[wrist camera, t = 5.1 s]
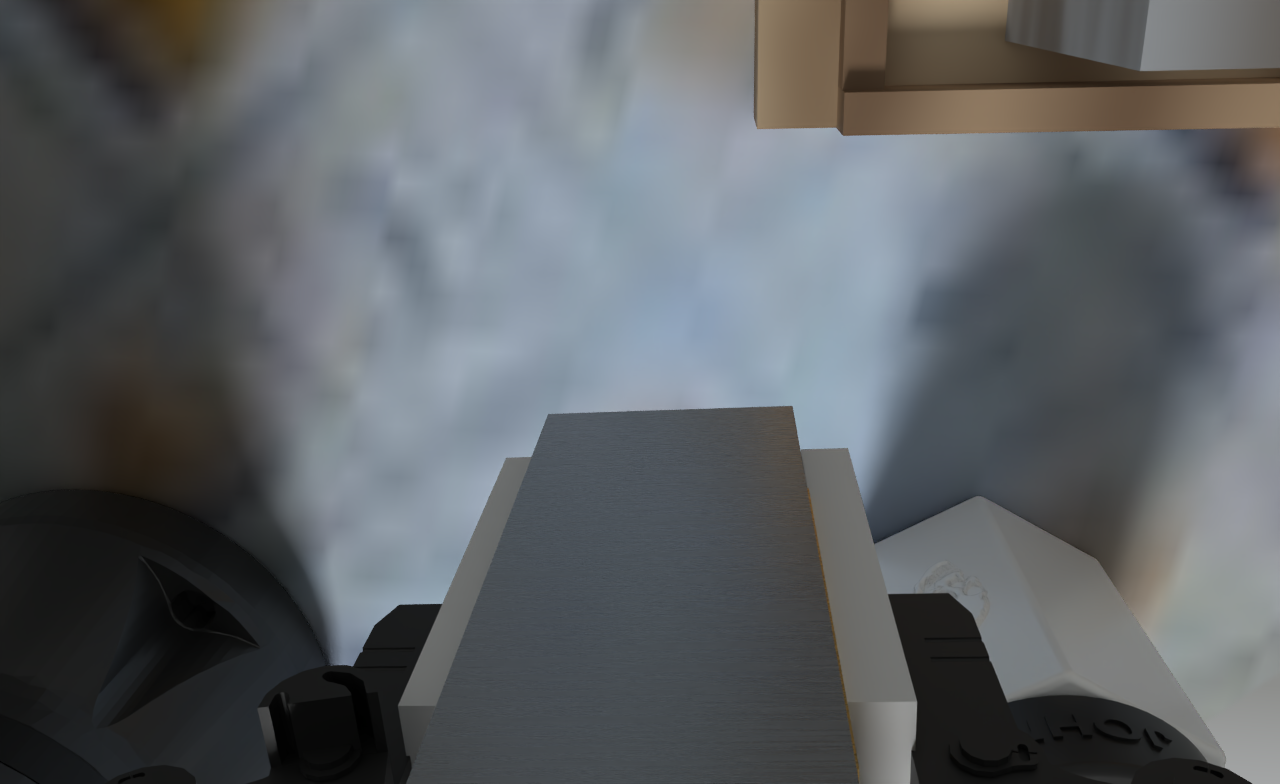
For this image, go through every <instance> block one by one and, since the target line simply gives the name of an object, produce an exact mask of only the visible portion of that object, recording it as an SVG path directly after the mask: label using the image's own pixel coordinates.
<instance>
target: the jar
mask: <svg viewBox="0 0 1280 784" xmlns="http://www.w3.org/2000/svg"><path fill="white" fill-rule="evenodd" d="M874 546H875V549H876V553H877V557H878V560H879V564H880V568H881V571H882V575H883V579H884V582H885V586H886V590H887V593H888V594H917V593H949V594H950V595H951V596H953V597H954V598H955V599H956V600H957V601H958V602H960V603H961V604H962V605H963V606H964V607H965V608H966V609H968V610H969V611H970V612H971V613H972V614H973V617H974V619H975V622H976V624H977V627H978V629H979V632H980V634H981V637H982V642H984V644H985V647H986V650H987V652H988V655H989V660H990V661H991V662H992V665H993V667H994V670H995V672H996V675H997V677H998V680H999V682H1000V685H1001V687H1002V690H1003V692H1004V695H1005V697H1006V700H1007V702H1008V705H1009V707H1010V710H1011V712H1012V715H1013V717H1014V720H1015V722H1016V725H1017V727H1018V729H1019V730H1021V731H1023V732H1025V733H1027V734H1029V735H1030V736H1031V737H1032V738H1033V739H1034V740H1035V741H1036V742H1037V743H1038V744H1039V745H1040V746H1041V747H1042V748H1043V749H1044V752H1045V754H1046V757H1047V759H1048V761H1049V763H1051V764H1052V765H1054V766H1056V767H1059V768H1061V769H1063V770H1065V771H1067V772H1070V773H1072V774H1075V775H1079V776H1082V777H1086V778H1089V779H1093V780H1097V781H1102V782H1107V783H1111V784H1131V782H1132V780H1133V777H1134V775H1135V772H1136V771H1137V770H1139V769H1140V768H1142V767H1143V766H1145V765H1146V764H1148V763H1150V762H1151V761H1157V760H1163V759H1168V758H1183V759H1193V760H1201V761H1204V762H1207V763H1210V764H1213V765H1216V766H1220V767H1223V768H1224V767H1225V762H1226V757H1225V754H1224V752H1223V750H1222V749H1221V747H1220V746H1219V744H1218V743H1217V741H1216V740H1215V738H1214V737H1213V735H1212V733H1211V732H1210V730H1209V729H1208V727H1207V726H1206V724H1205V723H1204V721H1203V720H1202V718H1201V717H1200V715H1199V714H1198V712H1197V711H1196V709H1195V708H1194V706H1193V704H1192V703H1191V701H1190V700H1189V698H1188V697H1187V695H1186V694H1185V692H1184V691H1183V689H1182V688H1181V686H1180V685H1179V683H1178V682H1177V680H1176V679H1175V677H1174V676H1173V674H1172V673H1171V671H1170V669H1169V668H1168V666H1167V665H1166V663H1165V662H1164V660H1163V659H1162V657H1161V656H1160V654H1159V653H1158V651H1157V650H1156V648H1155V647H1154V645H1153V644H1152V642H1151V641H1150V639H1149V637H1148V636H1147V634H1146V633H1145V631H1144V630H1143V628H1142V627H1141V625H1140V624H1139V622H1138V621H1137V619H1136V618H1135V616H1134V615H1133V613H1132V612H1131V610H1130V609H1129V607H1128V606H1127V604H1126V602H1125V601H1124V599H1123V598H1122V596H1121V595H1120V593H1119V592H1118V590H1117V589H1116V587H1115V586H1114V584H1113V583H1112V581H1111V580H1110V578H1109V577H1108V575H1107V574H1106V572H1105V570H1104V569H1103V567H1102V566H1101V564H1100V563H1099V561H1098V560H1096V559H1095V558H1093V557H1092V556H1090V555H1088V554H1086V553H1084V552H1083V551H1081V550H1079V549H1077V548H1075V547H1073V546H1072V545H1070V544H1068V543H1066V542H1064V541H1063V540H1061V539H1059V538H1057V537H1055V536H1054V535H1052V534H1050V533H1048V532H1046V531H1044V530H1043V529H1041V528H1039V527H1037V526H1035V525H1034V524H1032V523H1030V522H1028V521H1026V520H1024V519H1023V518H1021V517H1019V516H1017V515H1015V514H1014V513H1012V512H1010V511H1008V510H1006V509H1005V508H1003V507H1001V506H999V505H997V504H995V503H994V502H992V501H990V500H988V499H986V498H985V497H982V496H975V497H973V498H971V499H968V500H966V501H964V502H962V503H960V504H958V505H956V506H954V507H952V508H950V509H947V510H945V511H943V512H941V513H939V514H937V515H935V516H933V517H930V518H928V519H926V520H924V521H922V522H920V523H918V524H916V525H914V526H911V527H909V528H907V529H905V530H903V531H901V532H899V533H897V534H894V535H892V536H890V537H888V538H886V539H884V540H882V541H880V542H877V543H875V544H874Z"/></svg>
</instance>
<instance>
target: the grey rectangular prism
mask: <svg viewBox="0 0 1280 784" xmlns="http://www.w3.org/2000/svg"><path fill="white" fill-rule="evenodd" d="M406 784H859V764H858V759H857V753H856V748H855V742H854V737H853V731H852V726H851V720H850V715H849V709H848V703H847V698H846V692H845V687H844V681H843V676H842V670H841V665H840V659H839V654H838V648H837V643H836V637H835V631H834V626H833V620H832V615H831V609H830V604H829V598H828V593H827V587H826V582H825V576H824V570H823V565H822V559H821V554H820V548H819V543H818V537H817V532H816V526H815V521H814V515H813V510H812V504H811V498H810V493H809V488H807V486H806V480H805V474H804V469H803V463H802V458H801V452H800V446H799V441H798V435H797V429H796V424H795V418H794V412H793V407H792V406H778V407H747V408H717V409H687V410H657V411H627V412H597V413H567V414H548V416H547V419H546V421H545V424H544V426H543V429H542V432H541V434H540V437H539V439H538V442H537V445H536V447H535V450H534V452H533V455H532V458H531V460H530V463H529V465H528V468H527V471H526V473H525V476H524V478H523V481H522V484H521V486H520V489H519V491H518V494H517V497H516V499H515V502H514V504H513V507H512V510H511V512H510V515H509V517H508V520H507V523H506V525H505V528H504V530H503V533H502V536H501V538H500V541H499V543H498V546H497V549H496V551H495V554H494V556H493V559H492V562H491V564H490V567H489V569H488V572H487V575H486V577H485V580H484V582H483V585H482V588H481V590H480V593H479V595H478V598H477V601H476V603H475V606H474V608H473V611H472V614H471V616H470V619H469V621H468V624H467V627H466V629H465V632H464V634H463V637H462V640H461V642H460V645H459V647H458V650H457V653H456V655H455V658H454V660H453V663H452V666H451V668H450V671H449V673H448V676H447V679H446V681H445V684H444V686H443V689H442V692H441V694H440V697H439V699H438V702H437V705H436V707H435V710H434V712H433V715H432V718H431V720H430V723H429V725H428V728H427V731H426V733H425V736H424V738H423V741H422V744H421V746H420V749H419V751H418V754H417V757H416V759H415V762H414V764H413V767H412V770H411V772H410V775H409V777H408V780H407V783H406Z"/></svg>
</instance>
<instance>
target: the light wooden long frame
mask: <svg viewBox="0 0 1280 784" xmlns="http://www.w3.org/2000/svg"><path fill="white" fill-rule="evenodd" d="M754 119H755V123H756V126H757V129H782V128H834V127H836V128H837V129H838V130H839V131H840V133H841V134H842V135H843V136H850V135H903V134H957V133H1010V132H1064V131H1117V130H1171V129H1224V128H1277V127H1280V0H755V56H754Z"/></svg>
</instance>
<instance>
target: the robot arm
mask: <svg viewBox="0 0 1280 784" xmlns="http://www.w3.org/2000/svg"><path fill="white" fill-rule="evenodd" d="M531 458H532V457H520V458H506V460H505V462H504V465H503V467H502V469H501V471H500V474H499V476H498V478H497V481H496V483H495V485H494V487H493V490H492V492H491V494H490V497H489V499H488V501H487V503H486V506H485V508H484V510H483V513H482V515H481V517H480V519H479V522H478V524H477V526H476V529H475V531H474V533H473V535H472V538H471V540H470V542H469V545H468V547H467V549H466V551H465V554H464V556H463V558H462V561H461V563H460V565H459V567H458V570H457V572H456V574H455V577H454V579H453V581H452V583H451V586H450V588H449V590H448V593H447V595H446V597H445V599H444V602H443V604H413V605H399V606H397V607H396V608H395V609H394V610H393V611H391V612H390V613H389V614H388V615H386V616H385V617H384V618H383V619H382V620H380V621H379V622H378V623H377V624H376V625H375V626H374V628H373V630H372V631H371V633H370V635H369V637H368V639H367V641H366V643H365V645H364V647H363V652H361V653H360V654H359V656H358V658H357V660H356V662H355V664H354V666H353V667H352V666H348V665H333V666H326V665H325V661H324V658H323V655H322V653H321V650H320V647H319V645H318V643H317V640H316V638H315V636H314V634H313V632H312V630H311V628H310V626H309V625H308V623H307V621H306V619H305V617H304V616H303V614H302V613H301V611H300V610H299V608H298V607H297V605H296V604H295V603H294V601H293V600H292V599H291V597H290V596H289V595H288V593H287V592H286V591H285V590H284V588H283V587H282V586H281V585H280V584H279V583H278V582H277V580H276V579H275V578H274V577H273V576H272V575H271V574H270V573H269V572H268V571H267V570H266V569H265V568H264V567H263V566H262V565H261V564H259V563H258V562H257V561H256V560H255V559H254V558H253V557H252V556H250V555H249V554H248V553H247V552H245V551H244V550H243V549H241V548H240V547H239V546H238V545H236V544H235V543H233V542H232V541H230V540H229V539H228V538H226V537H225V536H223V535H222V534H220V533H218V532H217V531H215V530H213V529H212V528H210V527H208V526H207V525H205V524H203V523H201V522H199V521H197V520H195V519H193V518H191V517H189V516H187V515H185V514H182V513H180V512H178V511H176V510H173V509H170V508H168V507H165V506H162V505H160V504H157V503H153V502H150V501H147V500H144V499H140V498H136V497H131V496H127V495H122V494H116V493H111V492H103V491H93V490H56V491H46V492H39V493H33V494H28V495H24V496H20V497H16V498H13V499H10V500H7V501H4V502H1V503H0V784H406V783H407V780H408V777H409V775H410V772H411V770H412V767H413V764H414V762H415V759H416V757H417V754H418V751H419V749H420V746H421V744H422V741H423V738H424V736H425V733H426V731H427V728H428V725H429V723H430V720H431V718H432V715H433V712H434V710H435V707H436V705H437V702H438V699H439V697H440V694H441V692H442V689H443V686H444V684H445V681H446V679H447V676H448V673H449V671H450V668H451V666H452V663H453V660H454V658H455V655H456V653H457V650H458V647H459V645H460V642H461V640H462V637H463V634H464V632H465V629H466V627H467V624H468V621H469V619H470V616H471V614H472V611H473V608H474V606H475V603H476V601H477V598H478V595H479V593H480V590H481V588H482V585H483V582H484V580H485V577H486V575H487V572H488V569H489V567H490V564H491V562H492V559H493V556H494V554H495V551H496V549H497V546H498V543H499V541H500V538H501V536H502V533H503V530H504V528H505V525H506V523H507V520H508V517H509V515H510V512H511V510H512V507H513V504H514V502H515V499H516V497H517V494H518V491H519V489H520V486H521V484H522V481H523V478H524V476H525V473H526V471H527V468H528V465H529V463H530V460H531ZM801 458H802V463H803V469H804V474H805V480H806V486H807V488H809V493H810V498H811V504H812V510H813V515H814V521H815V526H816V532H817V537H818V543H819V548H820V554H821V559H822V565H823V570H824V576H825V582H826V587H827V593H828V598H829V604H830V609H831V615H832V620H833V626H834V631H835V637H836V643H837V648H838V654H839V659H840V665H841V670H842V676H843V681H844V687H845V692H846V698H847V703H848V709H849V715H850V720H851V726H852V731H853V737H854V742H855V748H856V753H857V759H858V764H859V784H1111V783H1107V782H1102V781H1097V780H1093V779H1089V778H1086V777H1082V776H1079V775H1075V774H1072V773H1070V772H1067V771H1065V770H1063V769H1061V768H1059V767H1056V766H1054V765H1052V764H1051V763H1049V761H1048V759H1047V757H1046V754H1045V752H1044V749H1043V748H1042V747H1041V746H1040V745H1039V744H1038V743H1037V742H1036V741H1035V740H1034V739H1033V738H1032V737H1031V736H1030V735H1029V734H1027V733H1025V732H1023V731H1021V730H1019V729H1018V727H1017V725H1016V722H1015V720H1014V717H1013V715H1012V712H1011V710H1010V707H1009V705H1008V702H1007V700H1006V697H1005V695H1004V692H1003V690H1002V687H1001V685H1000V682H999V680H998V677H997V675H996V672H995V670H994V667H993V665H992V662H991V661H990V660H989V655H988V652H987V650H986V647H985V644H984V642H982V637H981V634H980V632H979V629H978V627H977V624H976V622H975V619H974V617H973V614H972V613H971V612H970V611H969V610H968V609H966V608H965V607H964V606H963V605H962V604H961V603H960V602H958V601H957V600H956V599H955V598H954V597H953V596H951V595H950V594H949V593H917V594H888V593H887V590H886V586H885V582H884V579H883V575H882V571H881V568H880V564H879V560H878V557H877V553H876V549H875V546H874V542H873V538H872V535H871V531H870V527H869V524H868V520H867V517H866V513H865V509H864V506H863V502H862V498H861V495H860V491H859V487H858V484H857V480H856V476H855V473H854V469H853V465H852V462H851V458H850V454H849V451H848V448H838V449H803V450H801ZM1131 784H1252V783H1251V782H1249V781H1247V780H1245V779H1244V778H1242V777H1240V776H1238V775H1237V774H1235V773H1233V772H1232V771H1230V770H1228V769H1226V768H1223V767H1220V766H1216V765H1213V764H1210V763H1207V762H1204V761H1201V760H1193V759H1183V758H1168V759H1163V760H1157V761H1151V762H1150V763H1148V764H1146V765H1145V766H1143V767H1142V768H1140V769H1139V770H1137V771H1136V772H1135V775H1134V777H1133V780H1132V782H1131Z"/></svg>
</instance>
